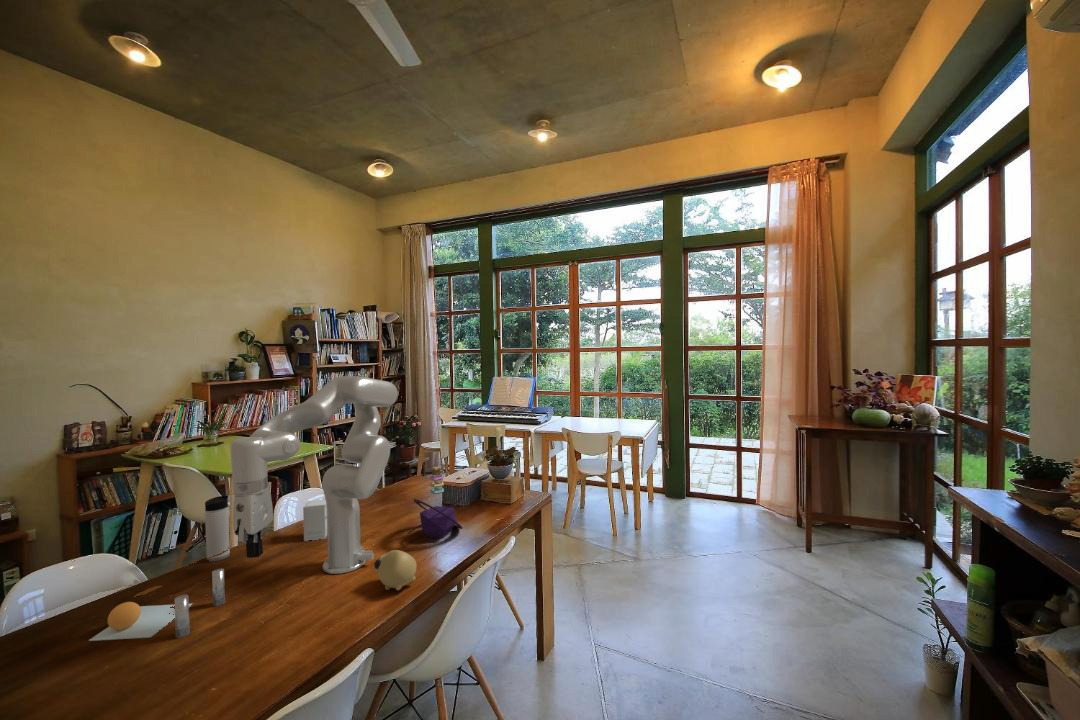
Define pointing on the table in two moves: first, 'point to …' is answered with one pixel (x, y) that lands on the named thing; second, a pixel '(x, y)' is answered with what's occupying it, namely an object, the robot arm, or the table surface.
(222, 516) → the travel mug
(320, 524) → the supplement box
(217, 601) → the post right
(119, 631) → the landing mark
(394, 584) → the toy pig
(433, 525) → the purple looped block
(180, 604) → the post left
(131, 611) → the ball
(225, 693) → the table surface
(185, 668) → the table surface
